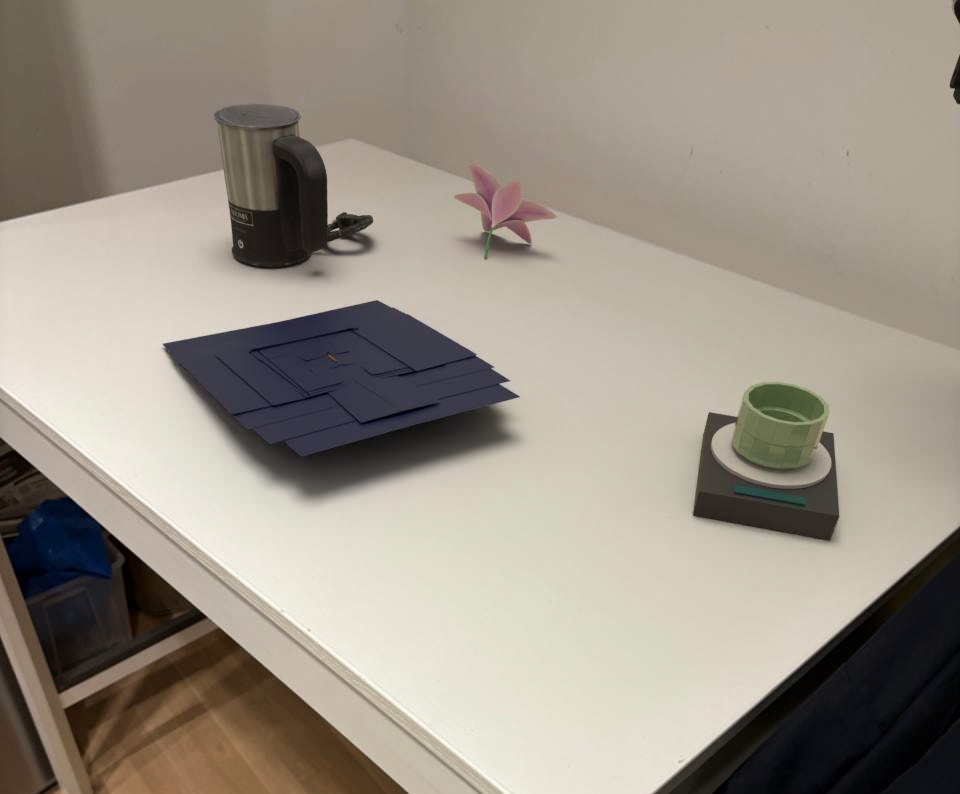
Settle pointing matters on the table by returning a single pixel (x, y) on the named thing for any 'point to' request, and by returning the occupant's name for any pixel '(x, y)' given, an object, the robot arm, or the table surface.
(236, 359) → the papers
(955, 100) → the robot arm
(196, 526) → the table surface
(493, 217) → the lily
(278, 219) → the milk frother
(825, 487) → the scale
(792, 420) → the bowl
